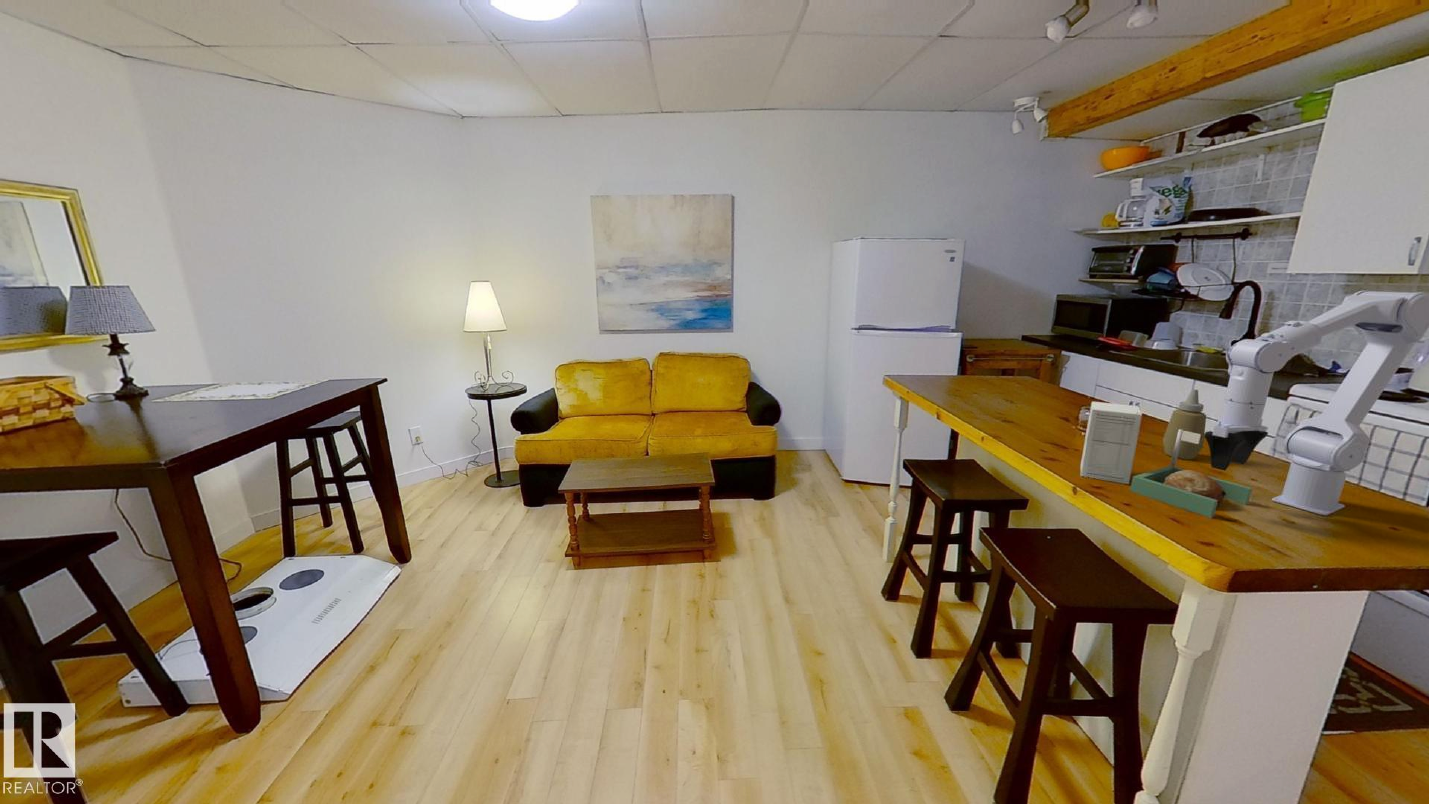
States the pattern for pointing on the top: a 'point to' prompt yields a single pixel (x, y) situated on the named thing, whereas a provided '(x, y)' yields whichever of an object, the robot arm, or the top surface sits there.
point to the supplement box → (1110, 442)
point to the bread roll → (1196, 484)
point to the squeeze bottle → (1186, 427)
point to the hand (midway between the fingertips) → (1228, 465)
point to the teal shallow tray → (1155, 489)
